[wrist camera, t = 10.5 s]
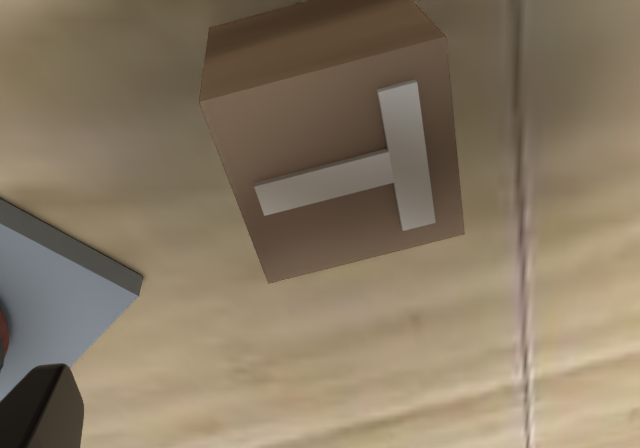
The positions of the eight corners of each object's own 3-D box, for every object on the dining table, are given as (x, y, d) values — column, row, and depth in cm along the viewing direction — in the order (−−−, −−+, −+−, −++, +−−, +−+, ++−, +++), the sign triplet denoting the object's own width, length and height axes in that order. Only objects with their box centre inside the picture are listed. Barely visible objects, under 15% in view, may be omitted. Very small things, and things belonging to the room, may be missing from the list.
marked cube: (209, 26, 15) (198, 105, 11) (390, -22, 15) (448, 39, 11) (261, 180, 18) (268, 287, 14) (414, 140, 18) (466, 237, 14)
